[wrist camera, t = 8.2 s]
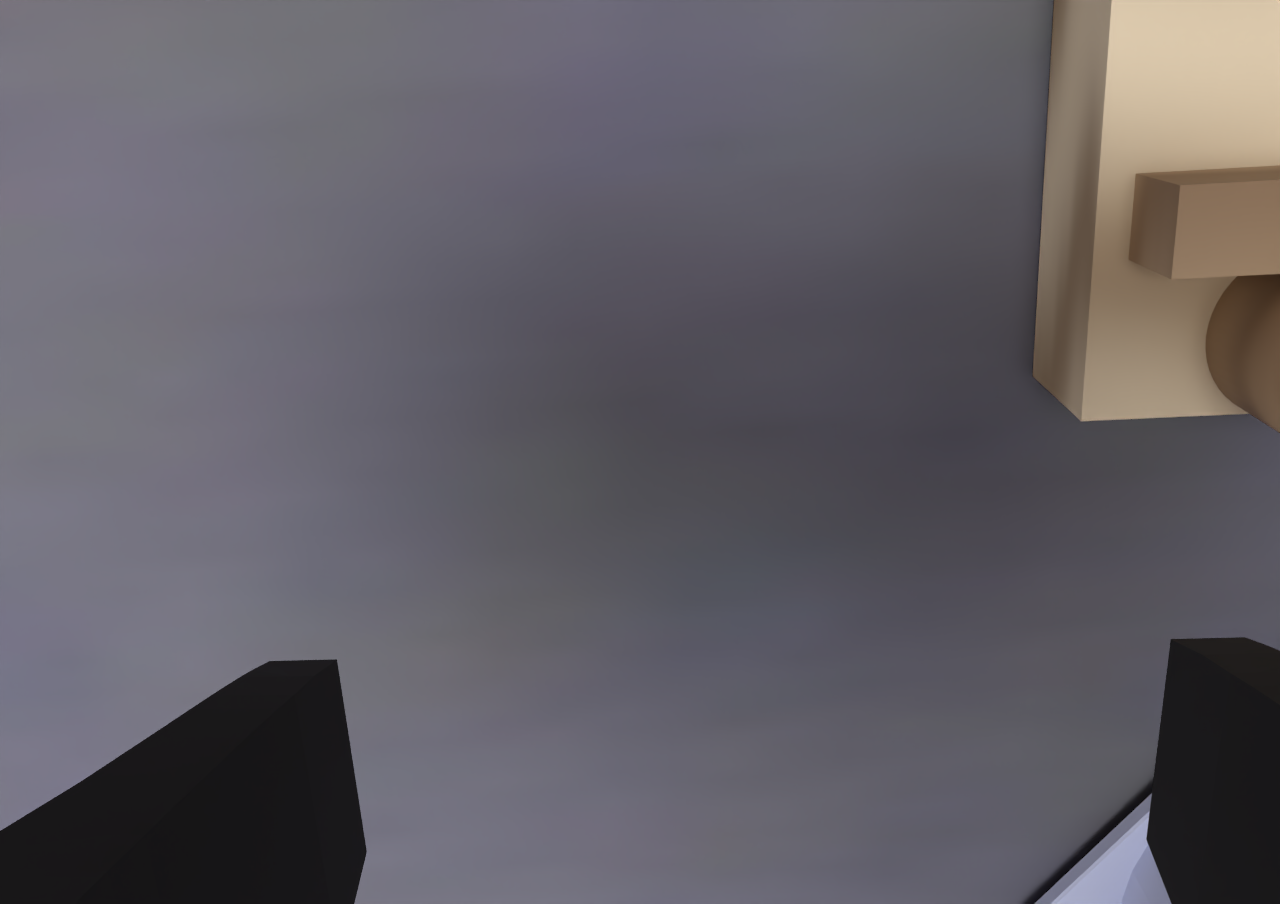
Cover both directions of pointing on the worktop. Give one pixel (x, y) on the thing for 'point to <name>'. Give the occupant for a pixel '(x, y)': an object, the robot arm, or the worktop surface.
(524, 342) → the worktop surface
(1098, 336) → the wooden block stand
